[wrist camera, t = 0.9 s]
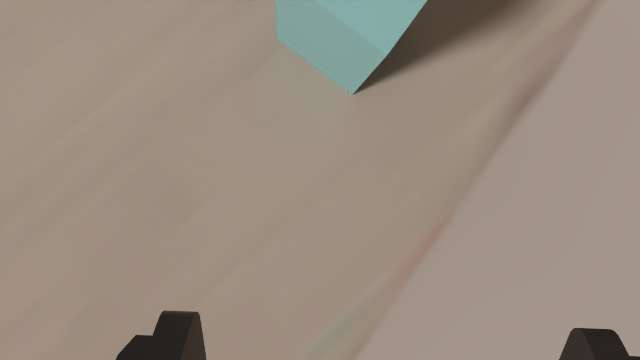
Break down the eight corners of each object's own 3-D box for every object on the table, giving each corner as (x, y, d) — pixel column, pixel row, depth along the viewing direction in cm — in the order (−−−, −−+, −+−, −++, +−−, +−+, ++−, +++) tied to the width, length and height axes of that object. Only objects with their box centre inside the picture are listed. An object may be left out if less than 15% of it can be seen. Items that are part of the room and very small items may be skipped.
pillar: (277, 39, 29) (273, -31, 19) (332, -36, 29) (357, -143, 19) (351, 95, 29) (387, 54, 19) (405, 21, 30) (468, -57, 20)
